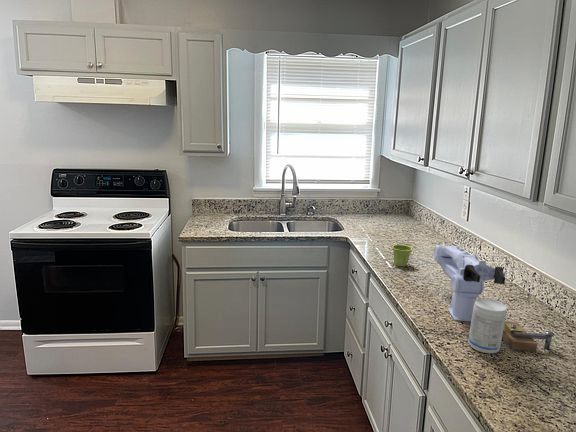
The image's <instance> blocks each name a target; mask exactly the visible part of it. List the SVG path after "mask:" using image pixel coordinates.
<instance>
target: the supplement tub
mask: <svg viewBox="0 0 576 432" xmlns="http://www.w3.org/2000/svg"><path fill="white" fill-rule="evenodd" d="M507 309H508V308H507V306H506V305H505V304H504V303H502V302H500V301H498V300H495V299H491V298H478V299H476V301H475V304H474V308H473V314H472V320H471V322H470V327H469V328H470V329H469V334H468V341H467V342H468V345H469V346H470V347H471V348H472V349H474V350H475V351H478V352H480V353H484V354H496V353H498V352H499V351H500V349H501V345H502V341H503V339H502V335H503V330H504V324H505V321H506V318H507V311H508V310H507Z"/></svg>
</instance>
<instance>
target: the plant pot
mask: <svg viewBox="0 0 576 432" xmlns="http://www.w3.org/2000/svg"><path fill="white" fill-rule="evenodd" d="M391 248H392V251H393V264H394V265H395V266H398V267H406V266H407V265H408V262H409V258H410V255H411V253H412V250H413V247H411V246H409V245H405V244H393V245H392V246H391Z"/></svg>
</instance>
